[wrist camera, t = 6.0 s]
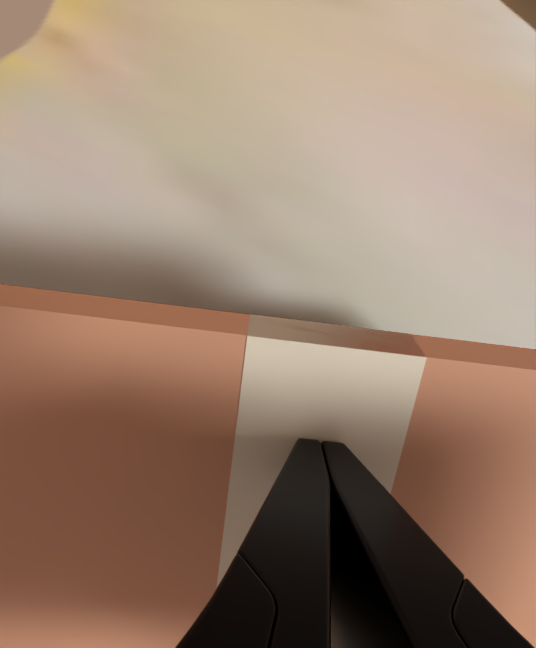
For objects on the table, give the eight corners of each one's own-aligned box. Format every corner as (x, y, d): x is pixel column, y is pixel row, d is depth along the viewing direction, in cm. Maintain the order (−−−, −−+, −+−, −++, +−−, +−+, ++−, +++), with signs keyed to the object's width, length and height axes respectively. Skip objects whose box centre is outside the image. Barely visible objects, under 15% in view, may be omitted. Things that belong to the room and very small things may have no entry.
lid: (542, 685, 13) (564, 731, 12) (-18, 632, 12) (-43, 676, 11) (695, 368, 10) (742, 395, 9) (-56, 276, 9) (-96, 294, 8)
